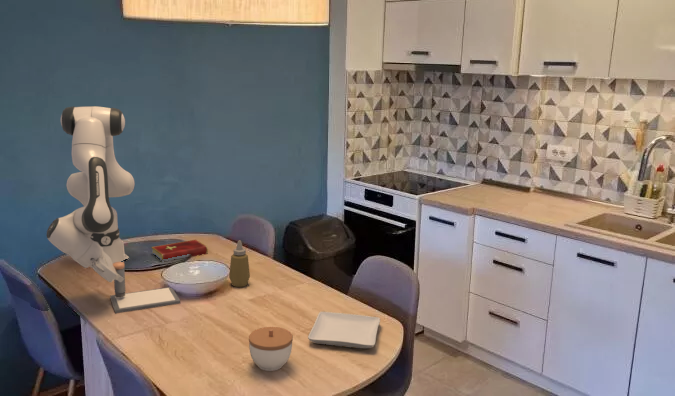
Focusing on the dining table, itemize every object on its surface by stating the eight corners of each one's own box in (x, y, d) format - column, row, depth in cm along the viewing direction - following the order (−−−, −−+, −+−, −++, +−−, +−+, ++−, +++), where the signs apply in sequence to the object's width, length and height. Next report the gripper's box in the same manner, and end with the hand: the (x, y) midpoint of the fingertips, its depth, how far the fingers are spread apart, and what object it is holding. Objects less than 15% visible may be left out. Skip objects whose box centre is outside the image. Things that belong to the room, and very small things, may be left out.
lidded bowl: (293, 354, 179) (293, 320, 176) (291, 376, 167) (291, 340, 164) (251, 353, 178) (251, 320, 176) (246, 375, 166) (246, 339, 164)
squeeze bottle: (248, 289, 227) (248, 244, 223) (227, 288, 227) (226, 243, 223) (251, 281, 235) (251, 238, 230) (231, 280, 235) (231, 237, 230)
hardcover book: (207, 254, 264) (207, 245, 263) (162, 263, 252) (162, 254, 250) (195, 247, 273) (195, 238, 272) (151, 255, 261) (151, 246, 260)
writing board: (110, 298, 214) (110, 295, 213) (171, 289, 224) (171, 286, 223) (115, 313, 202) (115, 310, 201) (180, 303, 212) (180, 300, 211)
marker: (113, 294, 212) (112, 262, 209) (125, 292, 213) (123, 261, 211) (115, 298, 208) (113, 265, 206) (126, 296, 210) (125, 264, 207)
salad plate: (319, 319, 204) (319, 309, 204) (380, 325, 201) (380, 316, 201) (306, 347, 184) (306, 337, 183) (374, 355, 181) (375, 345, 180)
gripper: (100, 257, 195) (132, 281, 201) (93, 239, 212) (123, 262, 219) (86, 271, 194) (119, 295, 200) (80, 253, 211) (111, 275, 218)
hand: (121, 277), depth 210 cm, fingers closed on marker, 4 cm apart
